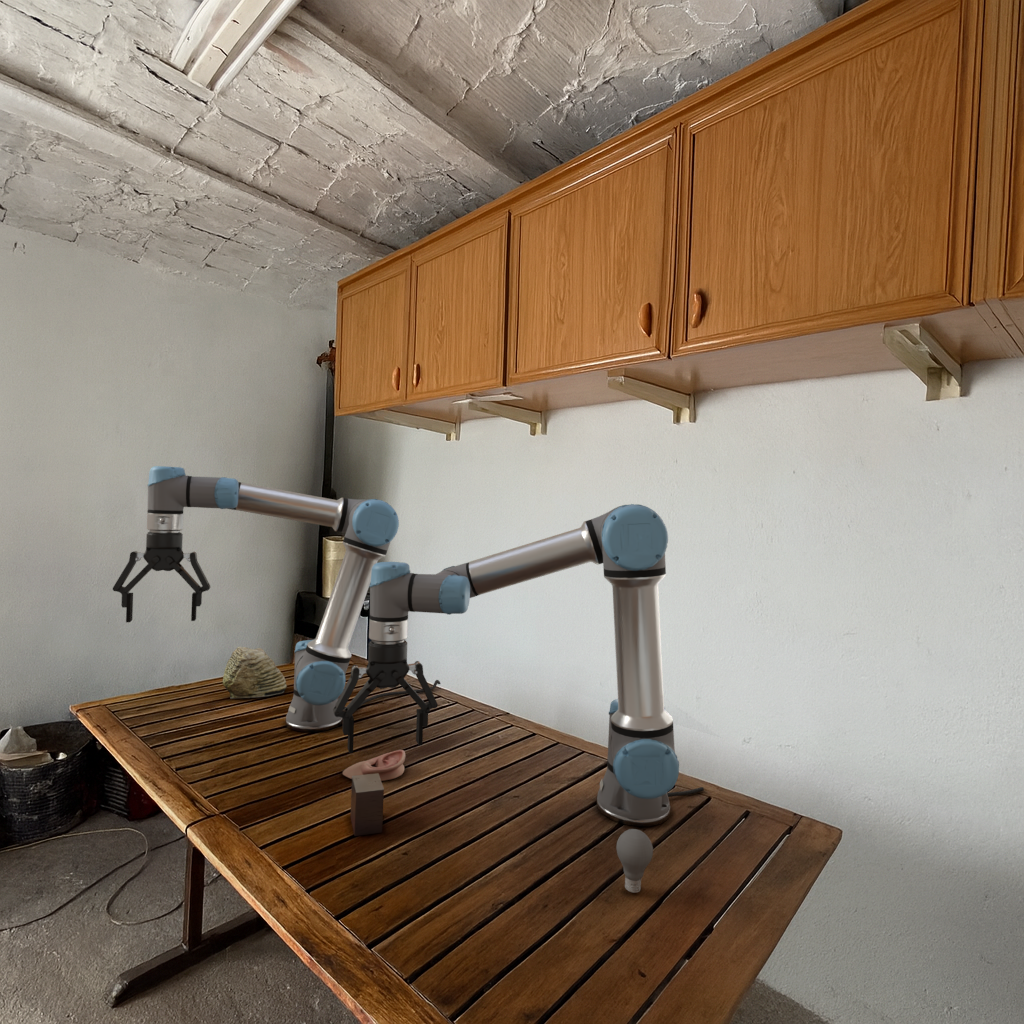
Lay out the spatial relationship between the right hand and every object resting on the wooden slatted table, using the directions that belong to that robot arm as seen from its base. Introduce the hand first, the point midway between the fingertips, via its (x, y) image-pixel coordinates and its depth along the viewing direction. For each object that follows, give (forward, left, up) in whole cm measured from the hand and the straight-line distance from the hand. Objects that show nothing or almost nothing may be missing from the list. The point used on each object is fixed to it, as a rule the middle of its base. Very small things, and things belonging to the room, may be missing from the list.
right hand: (385, 746), depth 126 cm
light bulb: (-41, +29, -14) cm, 52 cm away
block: (+3, +2, -14) cm, 15 cm away
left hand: (+53, -37, +18) cm, 67 cm away
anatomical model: (+2, -21, -14) cm, 26 cm away
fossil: (+39, -82, -14) cm, 92 cm away
